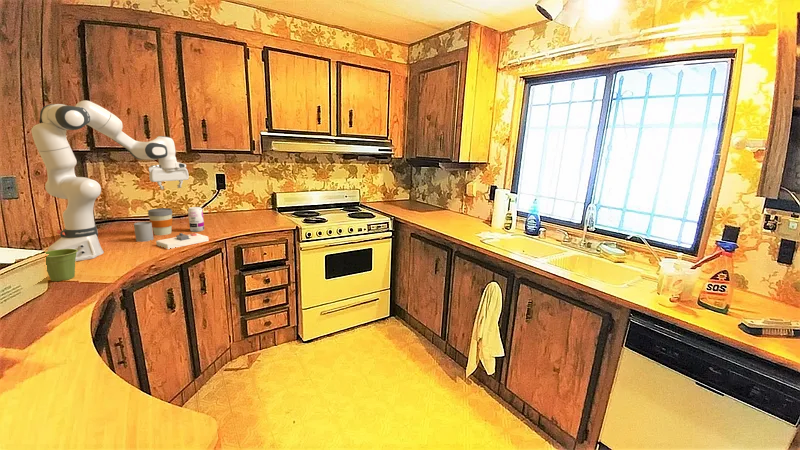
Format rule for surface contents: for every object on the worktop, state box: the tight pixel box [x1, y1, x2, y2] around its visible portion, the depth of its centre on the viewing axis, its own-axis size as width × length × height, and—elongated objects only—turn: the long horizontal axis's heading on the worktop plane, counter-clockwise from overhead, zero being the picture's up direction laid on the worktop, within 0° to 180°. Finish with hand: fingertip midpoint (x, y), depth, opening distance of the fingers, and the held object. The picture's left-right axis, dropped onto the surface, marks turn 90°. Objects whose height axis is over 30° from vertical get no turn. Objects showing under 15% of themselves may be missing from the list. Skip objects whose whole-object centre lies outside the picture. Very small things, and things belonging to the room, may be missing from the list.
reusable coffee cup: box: [147, 207, 173, 236], centre depth 220 cm, size 12×13×15 cm
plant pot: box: [44, 249, 78, 282], centre depth 146 cm, size 12×12×11 cm
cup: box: [133, 221, 155, 243], centre depth 206 cm, size 8×8×10 cm
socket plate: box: [155, 232, 210, 250], centre depth 202 cm, size 22×13×3 cm, turn 146°
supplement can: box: [187, 206, 205, 233], centre depth 230 cm, size 8×8×15 cm
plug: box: [175, 232, 189, 241], centre depth 202 cm, size 4×6×6 cm
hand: (171, 188), depth 210 cm, fingers open, 8 cm apart
